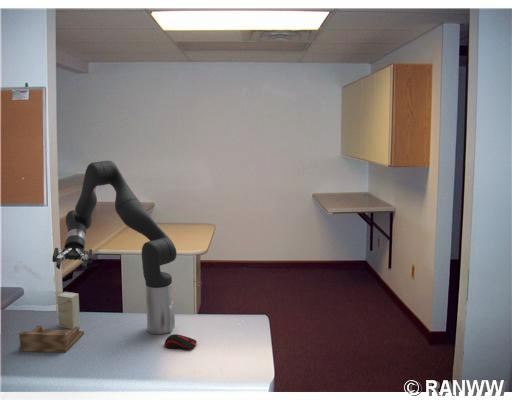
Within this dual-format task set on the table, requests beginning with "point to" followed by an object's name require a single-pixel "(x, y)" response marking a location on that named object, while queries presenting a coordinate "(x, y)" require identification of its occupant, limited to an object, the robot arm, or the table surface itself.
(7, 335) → the table surface
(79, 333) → the tray
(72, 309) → the skincare box
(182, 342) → the computer mouse
